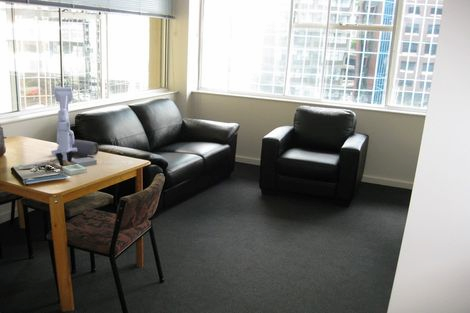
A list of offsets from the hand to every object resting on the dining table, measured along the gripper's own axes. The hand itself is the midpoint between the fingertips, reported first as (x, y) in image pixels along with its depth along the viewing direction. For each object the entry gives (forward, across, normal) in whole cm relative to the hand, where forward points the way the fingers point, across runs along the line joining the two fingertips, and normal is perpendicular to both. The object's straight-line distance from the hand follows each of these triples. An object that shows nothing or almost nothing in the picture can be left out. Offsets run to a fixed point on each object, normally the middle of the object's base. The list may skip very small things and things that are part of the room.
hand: (65, 165), depth 261 cm
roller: (+2, 0, 0) cm, 2 cm away
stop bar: (+1, -7, 0) cm, 7 cm away
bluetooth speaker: (+2, +20, +20) cm, 28 cm away
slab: (+2, +12, 0) cm, 12 cm away
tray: (+1, 0, -10) cm, 11 cm away
